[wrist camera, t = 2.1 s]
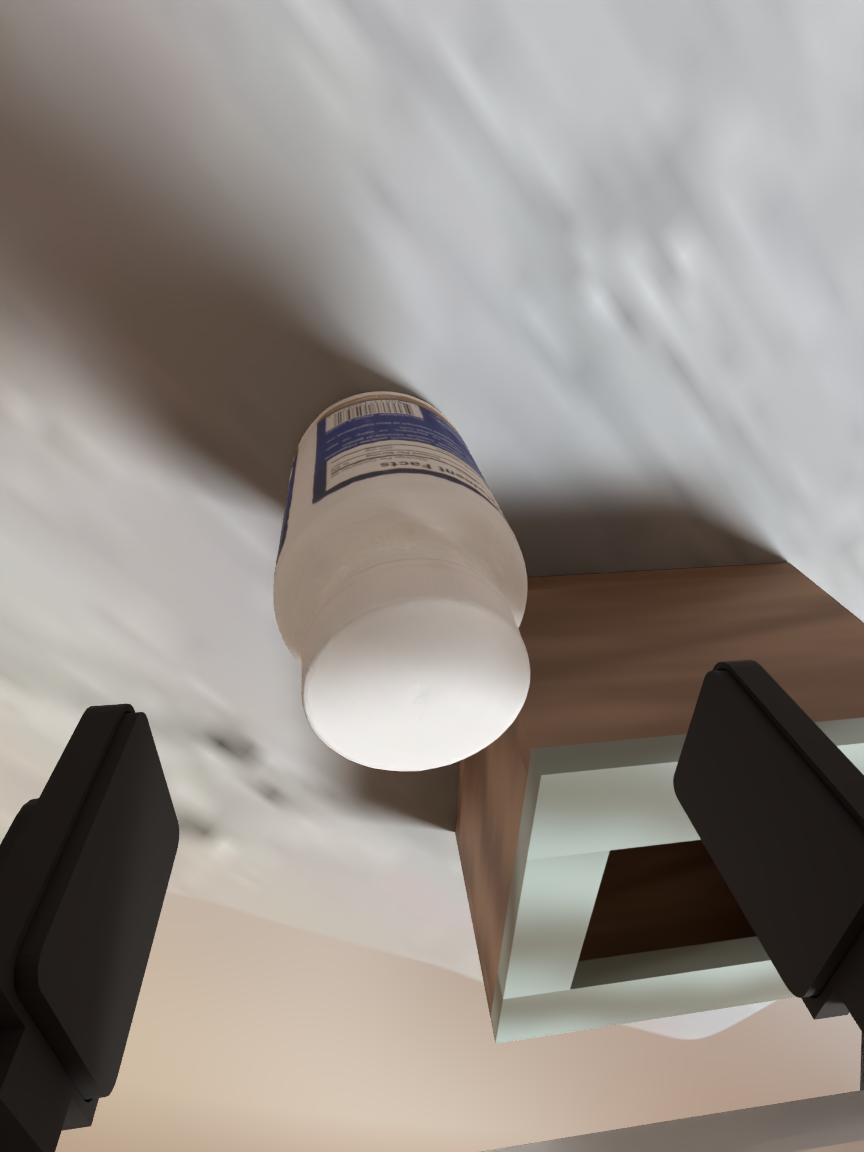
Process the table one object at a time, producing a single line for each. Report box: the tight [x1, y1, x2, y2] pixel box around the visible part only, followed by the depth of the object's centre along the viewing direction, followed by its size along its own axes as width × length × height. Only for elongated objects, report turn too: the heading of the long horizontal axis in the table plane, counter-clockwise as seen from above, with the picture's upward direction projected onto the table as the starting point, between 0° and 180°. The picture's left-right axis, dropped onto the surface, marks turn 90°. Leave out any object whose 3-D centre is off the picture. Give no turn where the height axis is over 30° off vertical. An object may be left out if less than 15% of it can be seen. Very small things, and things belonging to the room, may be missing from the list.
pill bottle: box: [274, 391, 530, 771], centre depth 14 cm, size 5×5×10 cm
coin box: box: [455, 563, 864, 1043], centre depth 22 cm, size 14×12×8 cm
